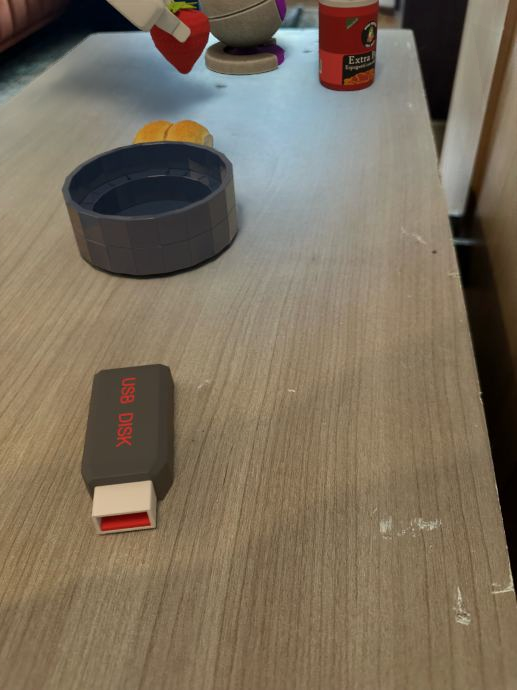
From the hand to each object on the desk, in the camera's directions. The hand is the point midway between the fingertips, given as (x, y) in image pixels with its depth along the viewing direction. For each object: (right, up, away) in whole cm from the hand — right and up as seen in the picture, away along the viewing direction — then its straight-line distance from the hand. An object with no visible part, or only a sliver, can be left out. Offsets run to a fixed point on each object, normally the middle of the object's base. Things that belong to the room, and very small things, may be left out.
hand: (185, 28), depth 79 cm
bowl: (0, -28, -18) cm, 33 cm away
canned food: (+21, -2, +11) cm, 24 cm away
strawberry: (0, -4, +4) cm, 6 cm away
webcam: (+7, +5, +20) cm, 22 cm away
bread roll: (-1, -17, -5) cm, 18 cm away
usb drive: (+1, -46, -38) cm, 60 cm away
